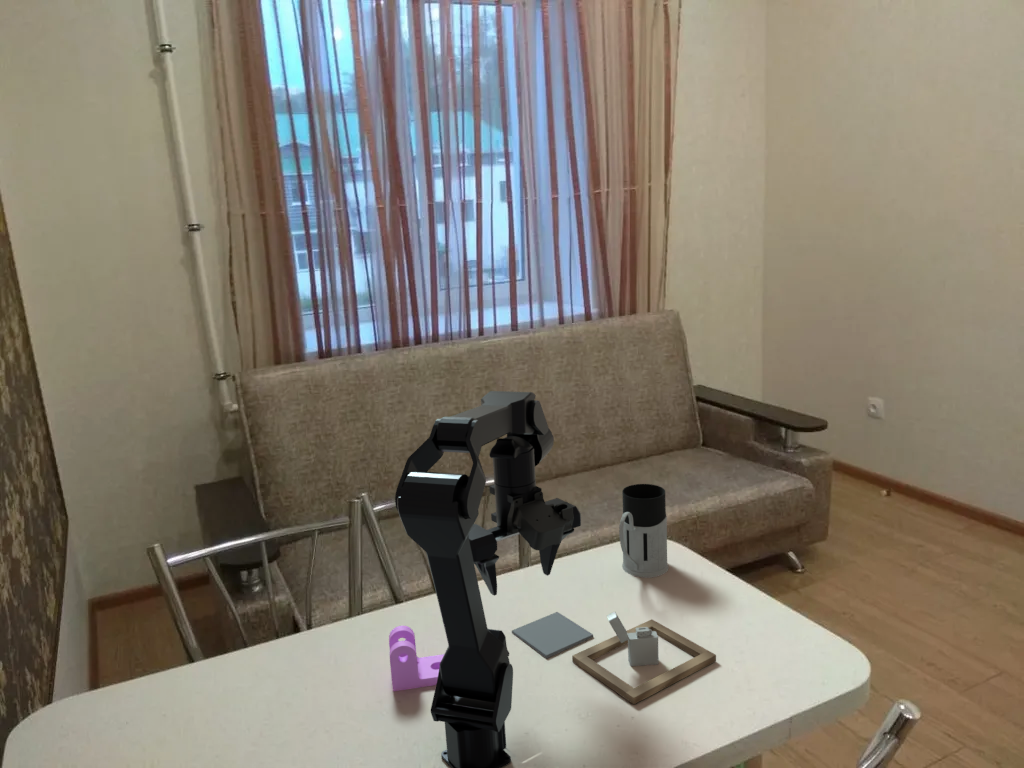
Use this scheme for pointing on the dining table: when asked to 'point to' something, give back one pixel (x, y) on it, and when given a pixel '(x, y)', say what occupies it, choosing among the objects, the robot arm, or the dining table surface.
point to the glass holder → (644, 531)
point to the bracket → (410, 662)
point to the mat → (552, 634)
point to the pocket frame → (653, 685)
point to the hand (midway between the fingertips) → (520, 584)
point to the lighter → (637, 642)
